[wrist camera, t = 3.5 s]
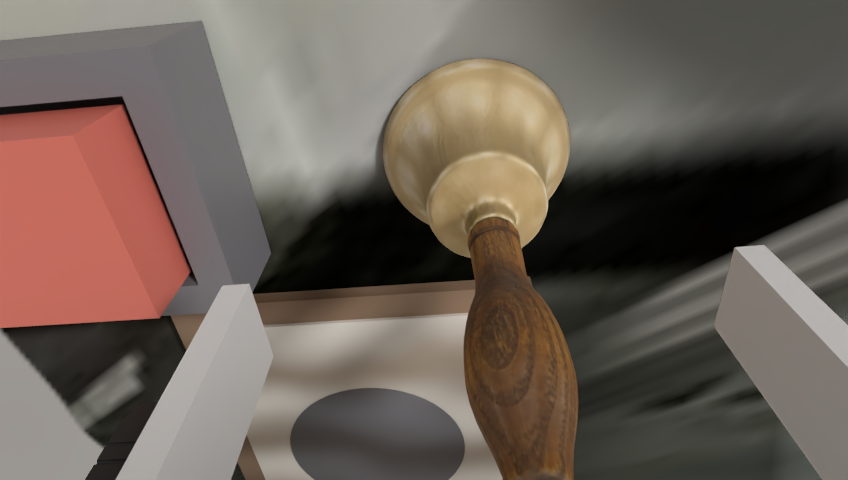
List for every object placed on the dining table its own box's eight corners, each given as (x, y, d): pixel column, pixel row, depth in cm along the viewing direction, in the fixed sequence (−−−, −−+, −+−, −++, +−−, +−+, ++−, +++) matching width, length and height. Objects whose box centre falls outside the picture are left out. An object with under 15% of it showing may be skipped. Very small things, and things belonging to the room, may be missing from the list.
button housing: (-61, 46, 21) (-170, 76, 17) (201, 20, 20) (148, 45, 17) (64, 267, 27) (2, 325, 23) (271, 253, 26) (243, 310, 22)
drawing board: (173, 299, 28) (164, 312, 27) (529, 276, 27) (533, 289, 26) (280, 538, 41) (276, 553, 40) (524, 530, 39) (526, 545, 39)
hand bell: (609, 121, 22) (876, 440, 9) (499, 258, 26) (568, 624, 13) (445, 16, 20) (467, 225, 7) (351, 182, 24) (247, 525, 11)
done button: (-70, 121, 19) (-149, 154, 16) (123, 104, 18) (72, 135, 16) (29, 282, 22) (-22, 329, 20) (191, 271, 22) (159, 318, 19)
